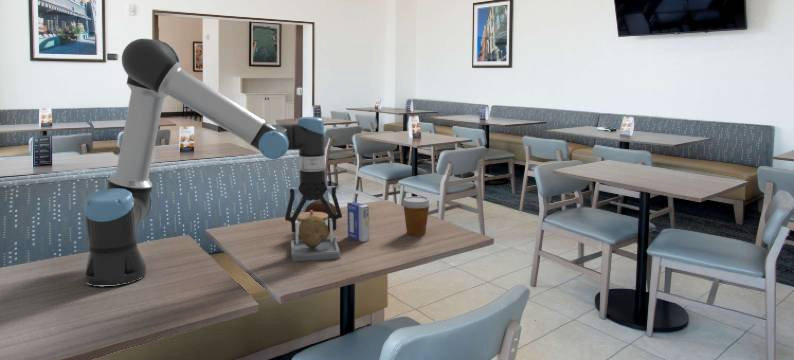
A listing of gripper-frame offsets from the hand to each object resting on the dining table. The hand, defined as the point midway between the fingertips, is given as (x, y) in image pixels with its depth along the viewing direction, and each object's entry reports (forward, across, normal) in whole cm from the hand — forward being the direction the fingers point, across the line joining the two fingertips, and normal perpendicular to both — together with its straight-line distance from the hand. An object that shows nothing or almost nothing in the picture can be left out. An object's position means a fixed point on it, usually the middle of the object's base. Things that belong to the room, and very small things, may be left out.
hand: (314, 241), depth 179 cm
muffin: (+4, +4, +25) cm, 25 cm away
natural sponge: (+2, 0, 0) cm, 2 cm away
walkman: (+4, +15, +12) cm, 20 cm away
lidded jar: (+4, 0, +15) cm, 16 cm away
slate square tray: (+4, 0, 0) cm, 4 cm away
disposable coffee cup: (+4, +35, +14) cm, 38 cm away
